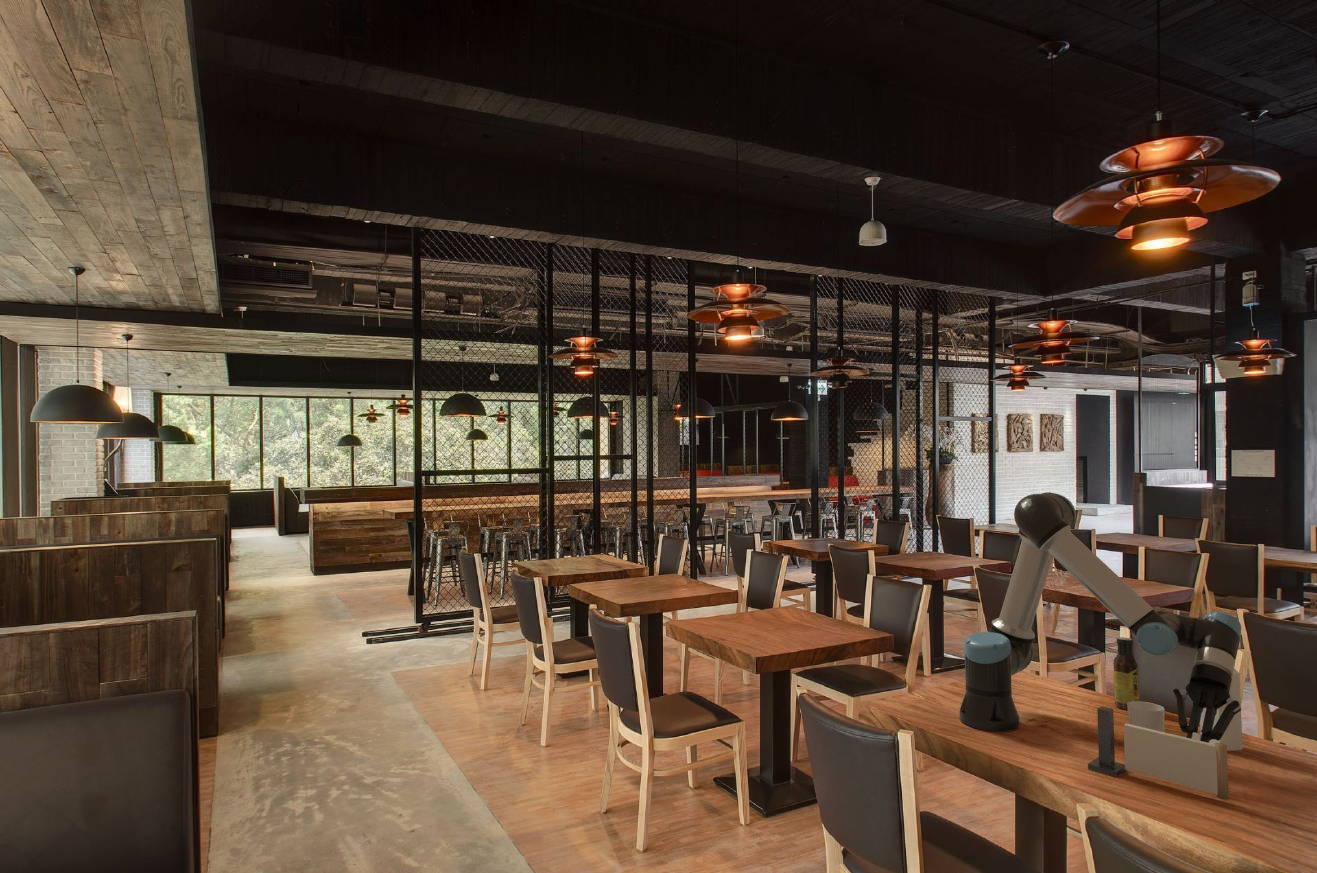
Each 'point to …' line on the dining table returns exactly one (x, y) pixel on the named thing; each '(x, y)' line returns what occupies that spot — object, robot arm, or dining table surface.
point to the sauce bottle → (1125, 674)
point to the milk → (1234, 729)
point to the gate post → (1106, 745)
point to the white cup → (1146, 715)
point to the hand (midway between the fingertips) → (1192, 762)
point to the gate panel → (1177, 759)
